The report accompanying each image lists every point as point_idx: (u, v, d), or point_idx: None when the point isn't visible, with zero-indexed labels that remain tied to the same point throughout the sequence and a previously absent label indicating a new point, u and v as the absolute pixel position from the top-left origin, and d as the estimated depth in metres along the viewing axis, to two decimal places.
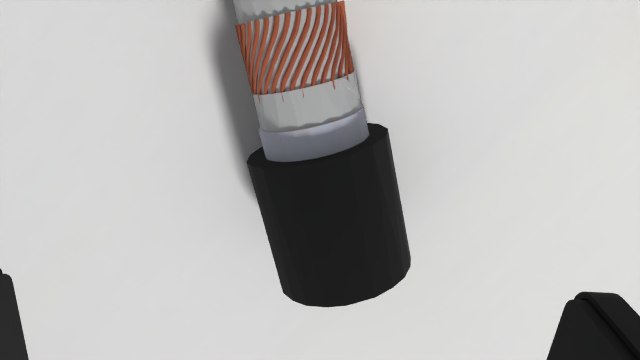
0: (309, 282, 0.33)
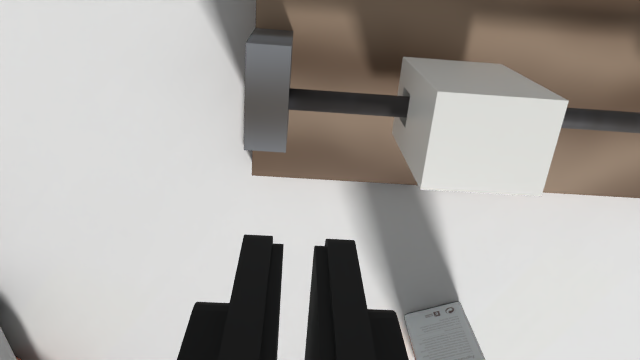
0: None
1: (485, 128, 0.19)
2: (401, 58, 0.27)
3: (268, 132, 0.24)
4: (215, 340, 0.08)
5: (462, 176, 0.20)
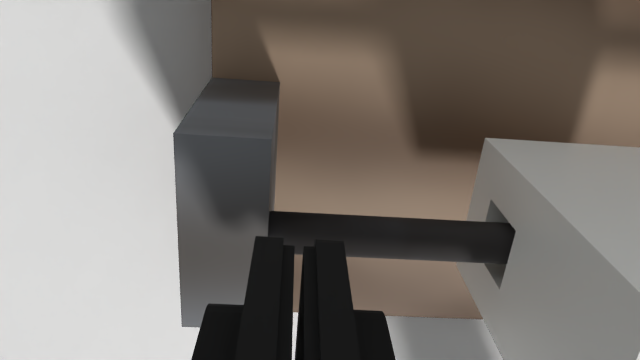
0: None
1: None
2: (468, 127, 0.16)
3: (228, 297, 0.12)
4: (228, 342, 0.07)
5: None
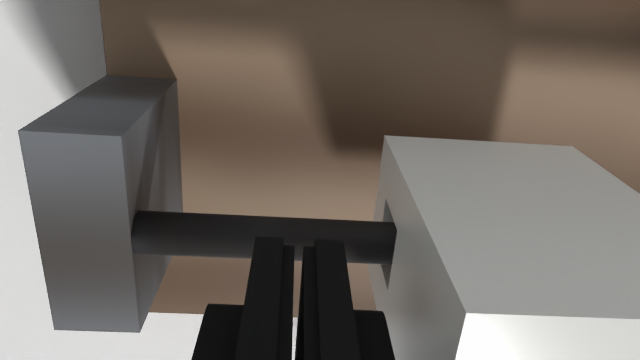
0: None
1: None
2: (375, 124, 0.15)
3: (98, 299, 0.12)
4: (229, 342, 0.07)
5: None
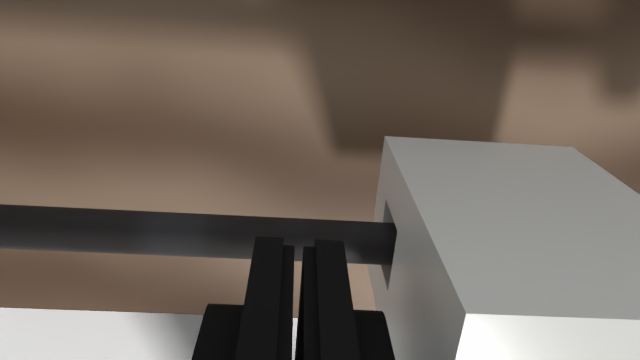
0: None
1: None
2: (168, 113, 0.15)
3: None
4: (229, 342, 0.07)
5: None
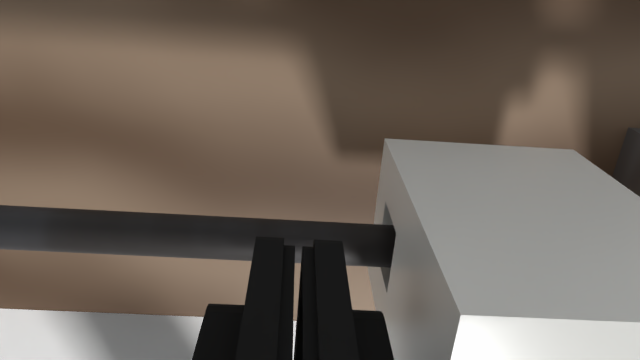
0: None
1: None
2: (53, 108, 0.15)
3: None
4: (229, 342, 0.08)
5: None
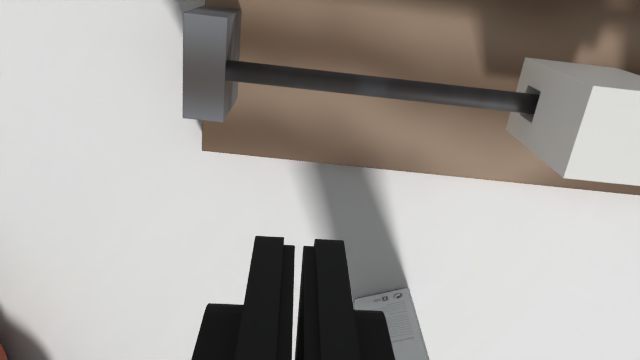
0: None
1: (631, 122, 0.21)
2: (346, 41, 0.28)
3: (206, 101, 0.25)
4: (229, 342, 0.08)
5: (604, 167, 0.21)
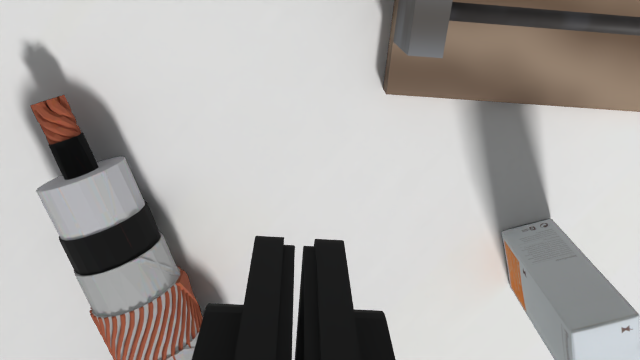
0: None
1: None
2: None
3: (430, 39, 0.28)
4: (229, 342, 0.08)
5: None
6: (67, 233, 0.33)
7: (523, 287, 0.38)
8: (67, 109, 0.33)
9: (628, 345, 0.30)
